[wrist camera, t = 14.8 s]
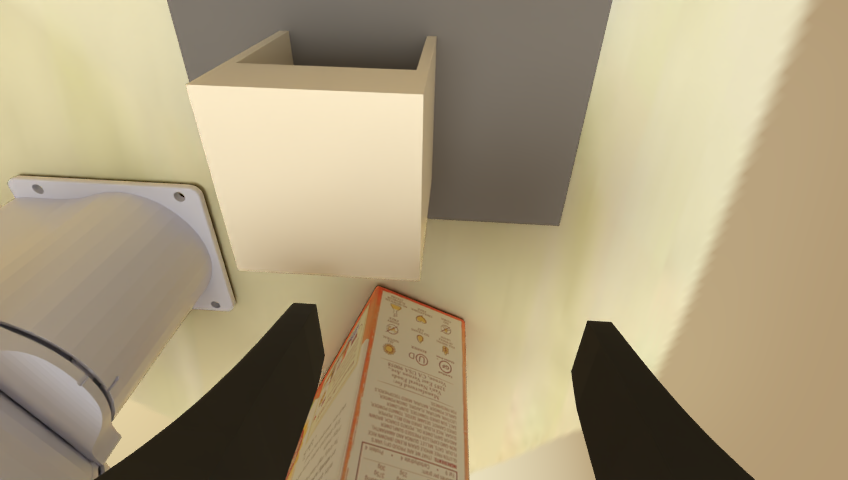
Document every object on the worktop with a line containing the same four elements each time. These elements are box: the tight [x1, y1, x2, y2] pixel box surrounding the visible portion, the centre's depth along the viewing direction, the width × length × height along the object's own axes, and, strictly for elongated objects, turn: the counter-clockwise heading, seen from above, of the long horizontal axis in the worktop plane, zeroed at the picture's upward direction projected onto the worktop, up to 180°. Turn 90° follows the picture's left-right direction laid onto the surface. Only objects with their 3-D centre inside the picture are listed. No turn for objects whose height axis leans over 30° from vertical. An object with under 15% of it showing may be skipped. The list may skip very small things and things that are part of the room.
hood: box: [186, 31, 437, 281], centre depth 15 cm, size 6×6×7 cm
